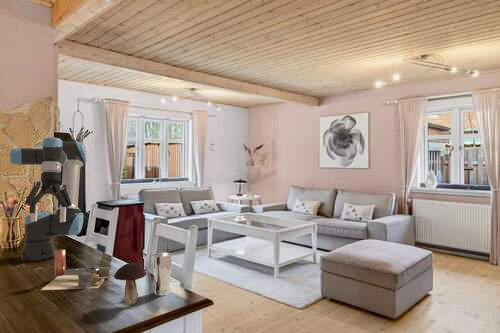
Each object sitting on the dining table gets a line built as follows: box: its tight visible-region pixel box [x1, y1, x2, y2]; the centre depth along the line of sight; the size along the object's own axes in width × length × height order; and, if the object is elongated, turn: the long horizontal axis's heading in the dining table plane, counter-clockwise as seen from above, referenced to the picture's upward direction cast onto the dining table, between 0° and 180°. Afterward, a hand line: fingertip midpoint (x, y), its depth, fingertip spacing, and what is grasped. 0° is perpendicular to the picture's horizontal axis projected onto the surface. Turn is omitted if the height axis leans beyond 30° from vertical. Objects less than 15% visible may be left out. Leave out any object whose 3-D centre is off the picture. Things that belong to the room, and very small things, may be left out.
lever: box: [54, 248, 111, 278], centre depth 143 cm, size 5×22×11 cm, turn 97°
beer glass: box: [152, 251, 173, 297], centre depth 133 cm, size 7×7×15 cm
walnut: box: [92, 273, 99, 283], centre depth 139 cm, size 4×4×4 cm
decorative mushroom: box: [113, 262, 148, 306], centre depth 122 cm, size 11×11×15 cm
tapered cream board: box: [40, 269, 113, 291], centre depth 143 cm, size 21×21×6 cm
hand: (48, 221), depth 146 cm, fingers open, 13 cm apart
